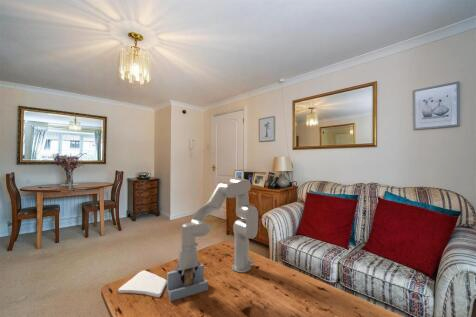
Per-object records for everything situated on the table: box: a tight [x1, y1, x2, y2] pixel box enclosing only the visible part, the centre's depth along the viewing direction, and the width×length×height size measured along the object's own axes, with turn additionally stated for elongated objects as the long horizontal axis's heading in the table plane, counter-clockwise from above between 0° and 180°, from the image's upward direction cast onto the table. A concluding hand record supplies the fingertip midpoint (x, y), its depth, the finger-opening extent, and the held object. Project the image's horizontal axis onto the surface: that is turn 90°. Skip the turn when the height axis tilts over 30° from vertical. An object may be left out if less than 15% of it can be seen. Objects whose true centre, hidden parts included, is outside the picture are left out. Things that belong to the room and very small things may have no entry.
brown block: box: [183, 268, 193, 287], centre depth 113 cm, size 4×6×8 cm
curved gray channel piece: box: [166, 263, 209, 302], centre depth 114 cm, size 20×10×10 cm, turn 118°
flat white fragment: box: [117, 269, 167, 298], centre depth 119 cm, size 21×4×25 cm
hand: (187, 280), depth 113 cm, fingers closed on brown block, 4 cm apart
